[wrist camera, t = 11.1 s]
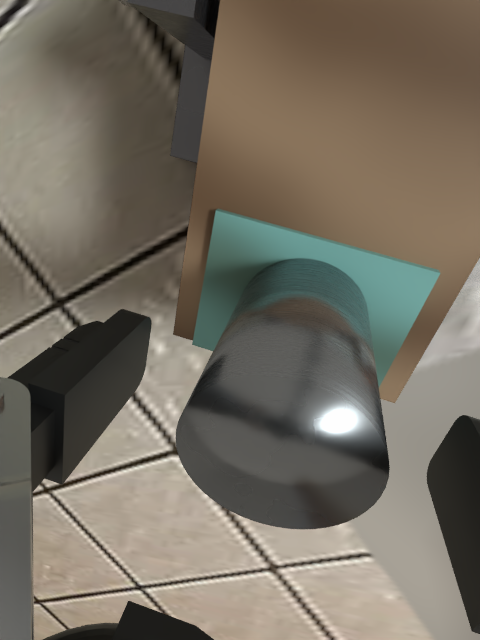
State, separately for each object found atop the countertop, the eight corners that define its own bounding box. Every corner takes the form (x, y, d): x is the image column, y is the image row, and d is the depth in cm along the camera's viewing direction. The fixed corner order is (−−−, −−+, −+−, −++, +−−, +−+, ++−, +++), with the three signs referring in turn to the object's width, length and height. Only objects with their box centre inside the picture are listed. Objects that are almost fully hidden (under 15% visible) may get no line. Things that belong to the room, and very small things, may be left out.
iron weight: (254, 242, 14) (190, 347, 8) (390, 280, 13) (430, 421, 8) (228, 350, 16) (165, 490, 11) (341, 385, 16) (343, 551, 10)
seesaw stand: (218, -156, 16) (106, -474, 8) (661, -70, 14) (1093, -346, 6) (174, 154, 21) (81, 158, 13) (494, 240, 20) (613, 305, 12)
